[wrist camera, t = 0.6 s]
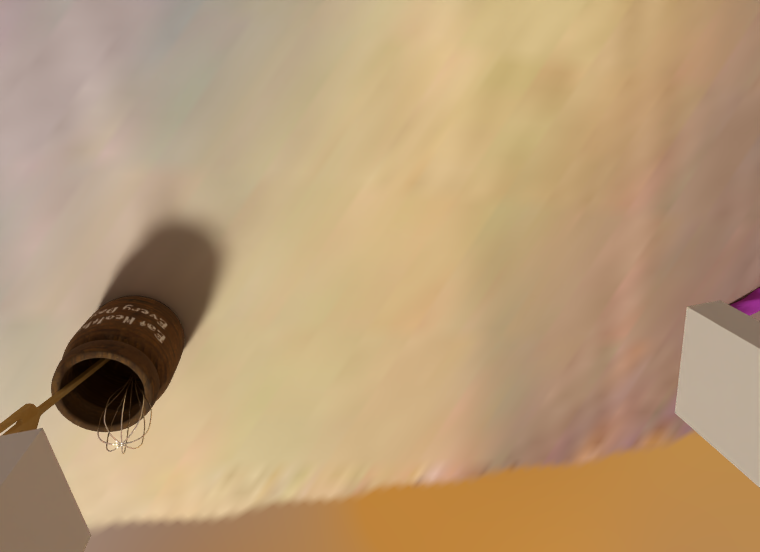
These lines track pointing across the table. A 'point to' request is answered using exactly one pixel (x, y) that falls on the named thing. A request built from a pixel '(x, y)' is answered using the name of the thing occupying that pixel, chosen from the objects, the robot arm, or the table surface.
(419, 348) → the table surface
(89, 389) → the utensil holder
